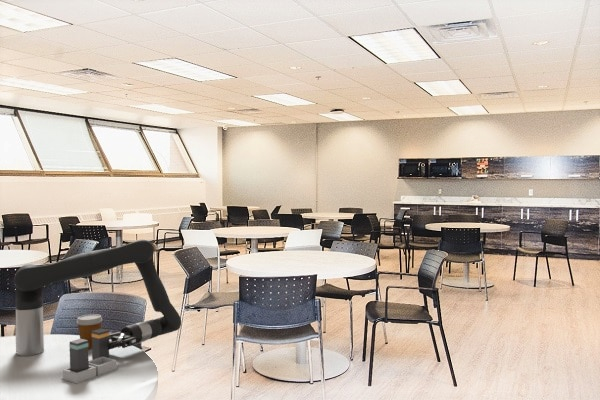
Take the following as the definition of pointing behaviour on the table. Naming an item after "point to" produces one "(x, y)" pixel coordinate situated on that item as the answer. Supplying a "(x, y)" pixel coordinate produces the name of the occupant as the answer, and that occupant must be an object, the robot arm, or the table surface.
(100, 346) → the plug
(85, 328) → the disposable coffee cup
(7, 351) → the table surface
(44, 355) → the table surface
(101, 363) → the grey double socket holder
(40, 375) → the table surface
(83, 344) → the twin plug
